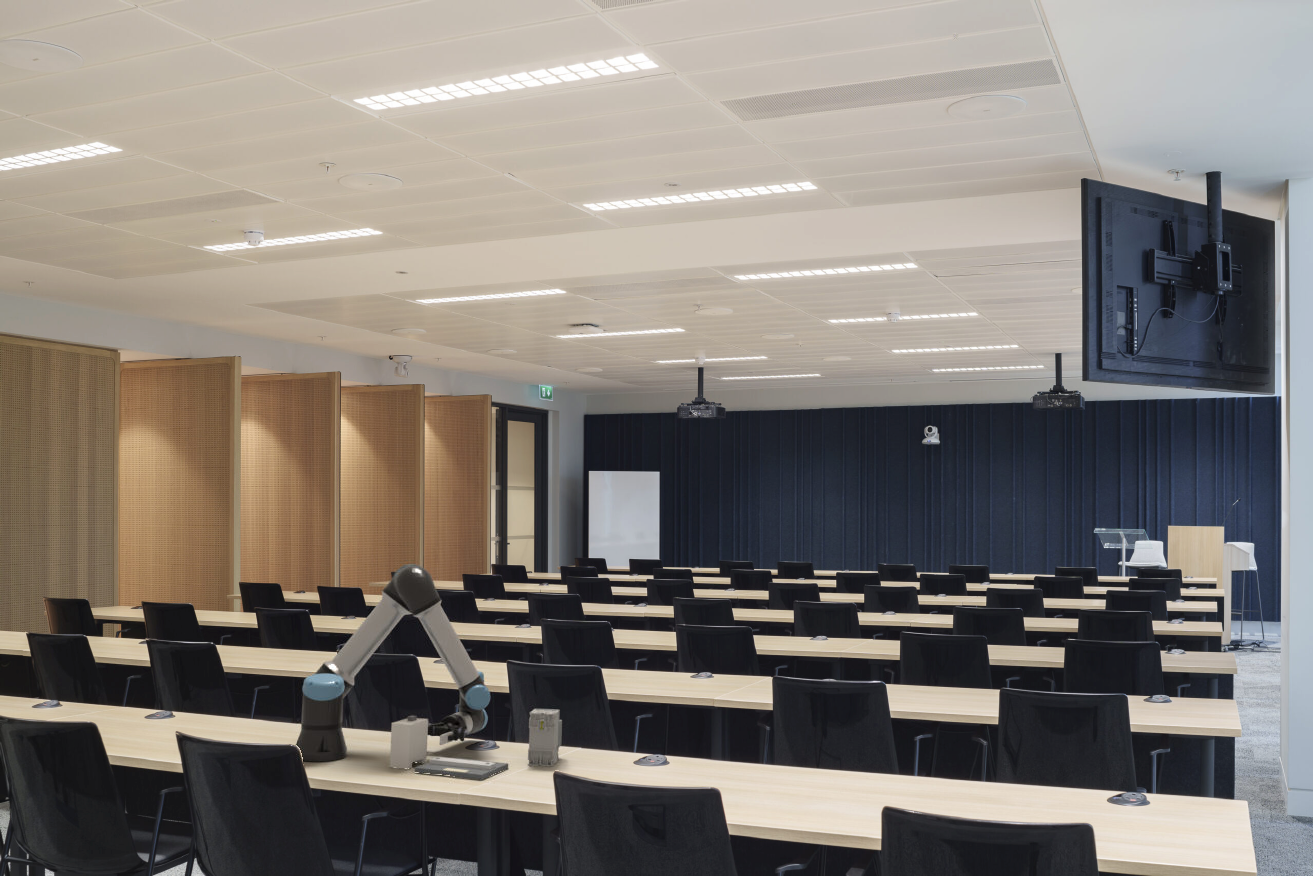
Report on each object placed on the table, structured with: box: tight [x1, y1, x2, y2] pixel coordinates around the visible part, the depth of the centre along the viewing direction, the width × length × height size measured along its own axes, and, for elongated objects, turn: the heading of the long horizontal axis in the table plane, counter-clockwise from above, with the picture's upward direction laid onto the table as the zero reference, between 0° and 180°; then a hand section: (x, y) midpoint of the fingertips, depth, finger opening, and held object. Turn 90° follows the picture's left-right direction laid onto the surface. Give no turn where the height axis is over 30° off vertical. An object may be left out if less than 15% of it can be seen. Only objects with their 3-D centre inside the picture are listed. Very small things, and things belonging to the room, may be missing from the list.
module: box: [389, 715, 429, 770], centre depth 317 cm, size 6×10×14 cm, turn 161°
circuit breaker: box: [527, 708, 563, 767], centre depth 327 cm, size 8×14×15 cm, turn 174°
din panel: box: [414, 756, 509, 781], centre depth 310 cm, size 21×16×3 cm
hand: (420, 738), depth 321 cm, fingers open, 13 cm apart
